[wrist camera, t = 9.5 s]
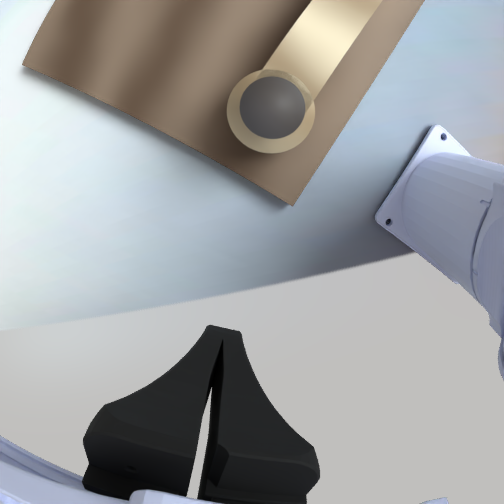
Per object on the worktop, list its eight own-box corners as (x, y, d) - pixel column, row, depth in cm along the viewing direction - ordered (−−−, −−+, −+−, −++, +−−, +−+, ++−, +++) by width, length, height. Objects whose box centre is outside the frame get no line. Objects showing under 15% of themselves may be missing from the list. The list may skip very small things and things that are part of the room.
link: (282, 165, 18) (289, 176, 14) (216, 125, 17) (201, 125, 13) (420, -38, 12) (449, -64, 8) (364, -74, 11) (383, -107, 7)
